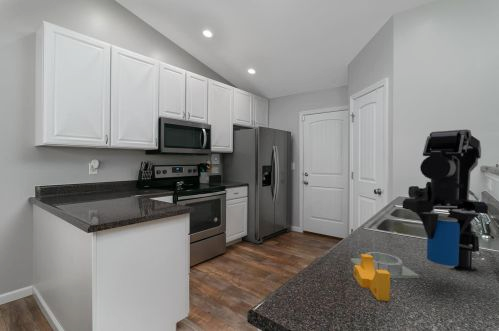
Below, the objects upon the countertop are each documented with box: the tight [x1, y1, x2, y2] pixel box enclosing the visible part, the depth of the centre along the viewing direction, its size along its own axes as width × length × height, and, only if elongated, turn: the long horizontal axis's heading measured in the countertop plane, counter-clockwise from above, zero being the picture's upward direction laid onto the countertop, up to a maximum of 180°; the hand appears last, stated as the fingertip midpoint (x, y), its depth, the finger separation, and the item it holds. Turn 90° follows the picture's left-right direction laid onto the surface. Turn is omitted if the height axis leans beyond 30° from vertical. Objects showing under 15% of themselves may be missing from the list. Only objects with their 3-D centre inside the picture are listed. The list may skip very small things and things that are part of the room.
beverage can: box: [426, 215, 460, 269], centre depth 63 cm, size 6×6×12 cm
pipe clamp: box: [353, 253, 391, 302], centre depth 62 cm, size 12×4×6 cm, turn 173°
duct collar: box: [350, 251, 421, 279], centre depth 73 cm, size 14×12×3 cm
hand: (442, 238), depth 63 cm, fingers closed on beverage can, 6 cm apart
